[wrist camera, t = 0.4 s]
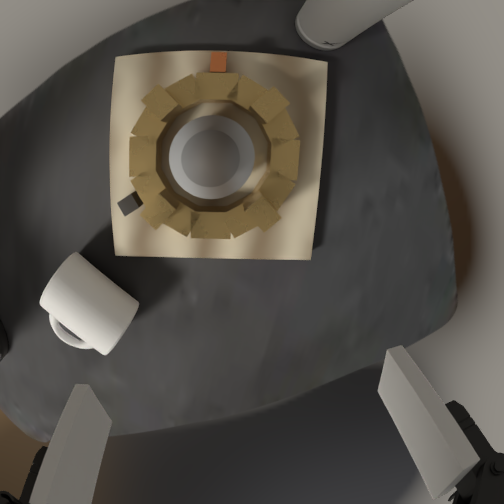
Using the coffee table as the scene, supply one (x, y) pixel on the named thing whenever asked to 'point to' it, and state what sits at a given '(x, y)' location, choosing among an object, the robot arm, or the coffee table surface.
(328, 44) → the travel mug
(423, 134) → the coffee table surface
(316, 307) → the coffee table surface
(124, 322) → the mug
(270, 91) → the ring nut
